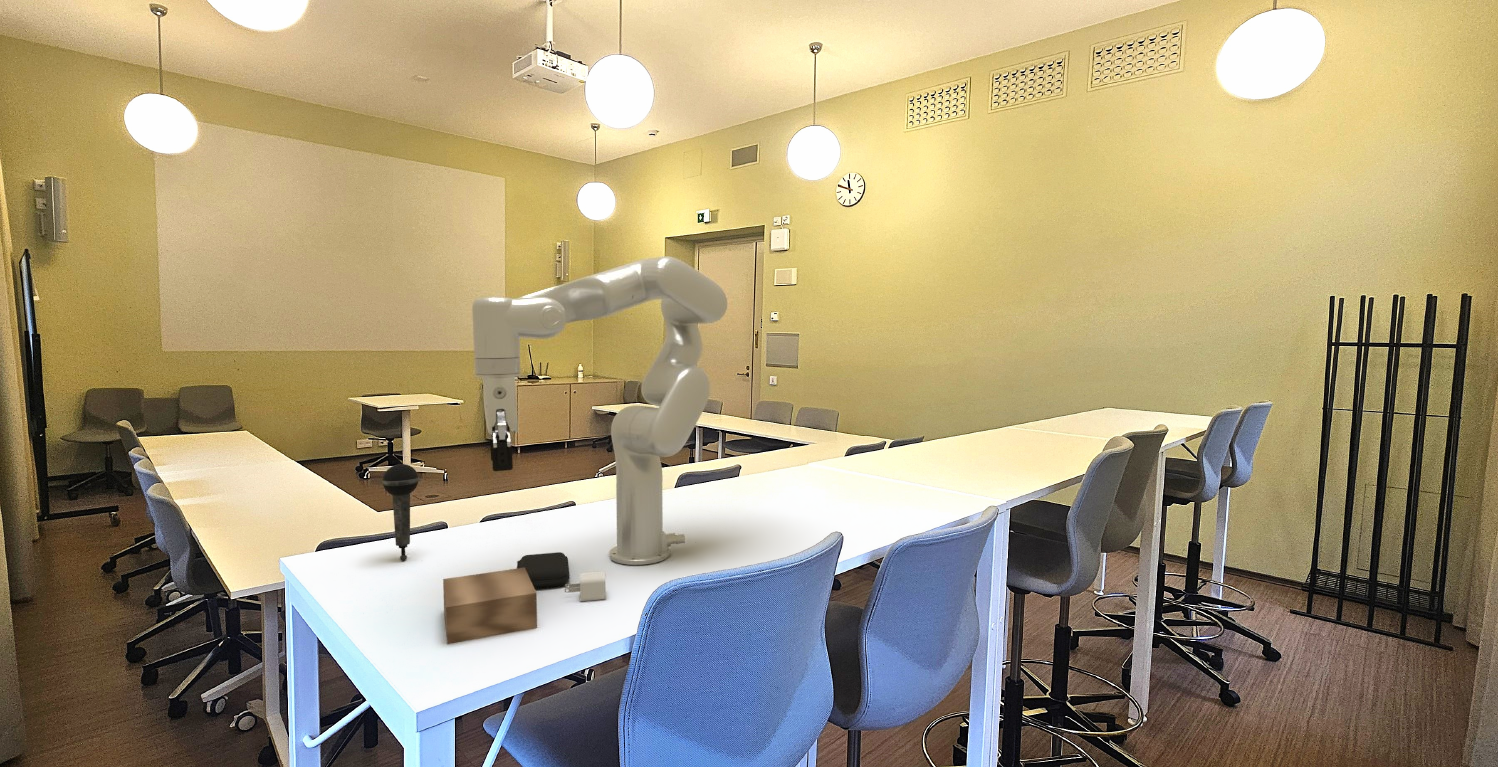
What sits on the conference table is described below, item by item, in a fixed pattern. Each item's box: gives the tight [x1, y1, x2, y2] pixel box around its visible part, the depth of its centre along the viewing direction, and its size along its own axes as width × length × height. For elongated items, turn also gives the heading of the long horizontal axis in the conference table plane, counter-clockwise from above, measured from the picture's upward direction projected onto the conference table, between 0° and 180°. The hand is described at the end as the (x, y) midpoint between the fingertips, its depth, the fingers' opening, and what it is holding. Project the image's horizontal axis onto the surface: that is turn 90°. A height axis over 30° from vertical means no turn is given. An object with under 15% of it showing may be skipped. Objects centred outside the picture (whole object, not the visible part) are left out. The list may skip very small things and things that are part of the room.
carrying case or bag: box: [516, 551, 571, 591], centre depth 129 cm, size 11×3×15 cm
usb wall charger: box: [564, 571, 607, 602], centre depth 119 cm, size 4×7×4 cm, turn 103°
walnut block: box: [442, 567, 538, 645], centre depth 109 cm, size 13×13×6 cm
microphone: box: [381, 463, 420, 562], centre depth 137 cm, size 7×7×20 cm
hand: (501, 464), depth 119 cm, fingers open, 9 cm apart
